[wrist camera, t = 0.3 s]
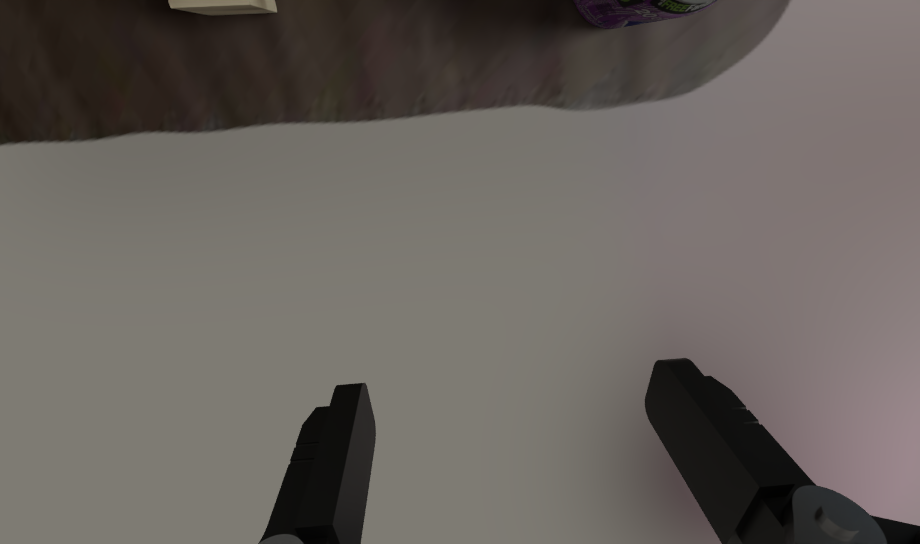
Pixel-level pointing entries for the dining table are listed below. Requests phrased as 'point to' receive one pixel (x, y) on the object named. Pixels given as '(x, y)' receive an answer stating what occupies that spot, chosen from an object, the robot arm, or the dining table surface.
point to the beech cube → (224, 6)
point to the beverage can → (636, 11)
